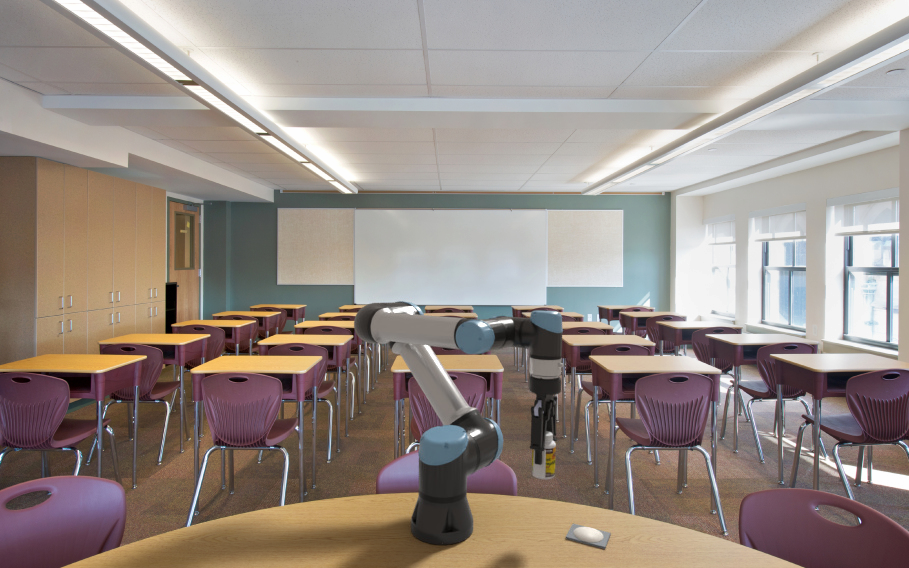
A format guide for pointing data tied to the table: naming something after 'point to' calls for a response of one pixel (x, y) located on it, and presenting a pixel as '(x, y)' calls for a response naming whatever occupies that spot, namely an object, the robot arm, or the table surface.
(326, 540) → the table surface
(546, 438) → the supplement bottle
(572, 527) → the seat plate
